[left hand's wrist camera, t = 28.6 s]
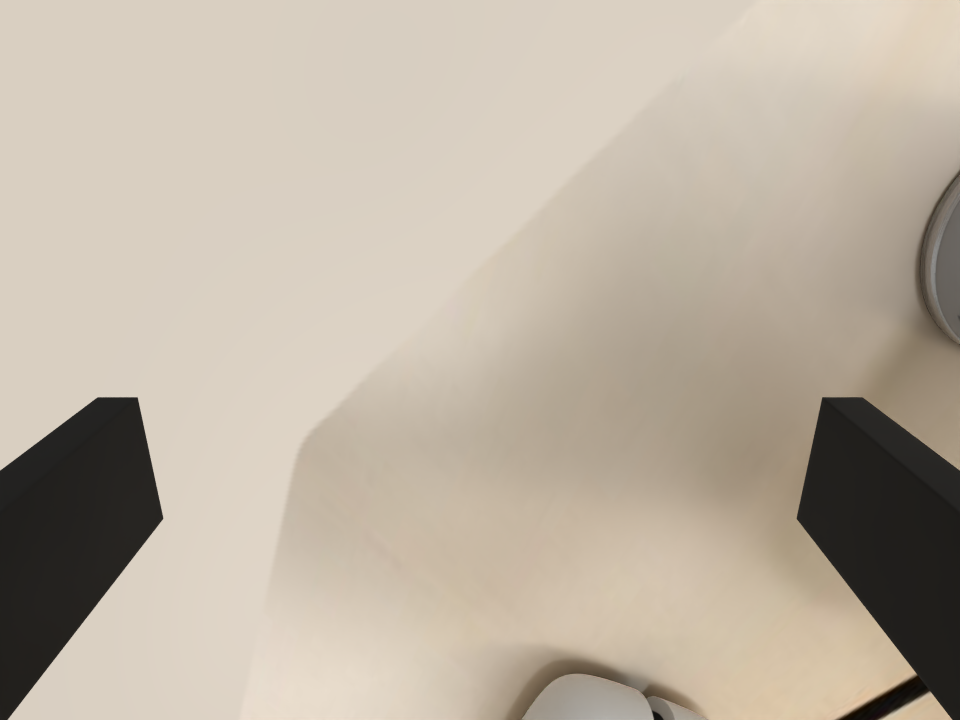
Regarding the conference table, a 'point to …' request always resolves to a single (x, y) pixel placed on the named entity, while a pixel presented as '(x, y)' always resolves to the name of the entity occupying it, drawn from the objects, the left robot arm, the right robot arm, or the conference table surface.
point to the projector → (601, 702)
